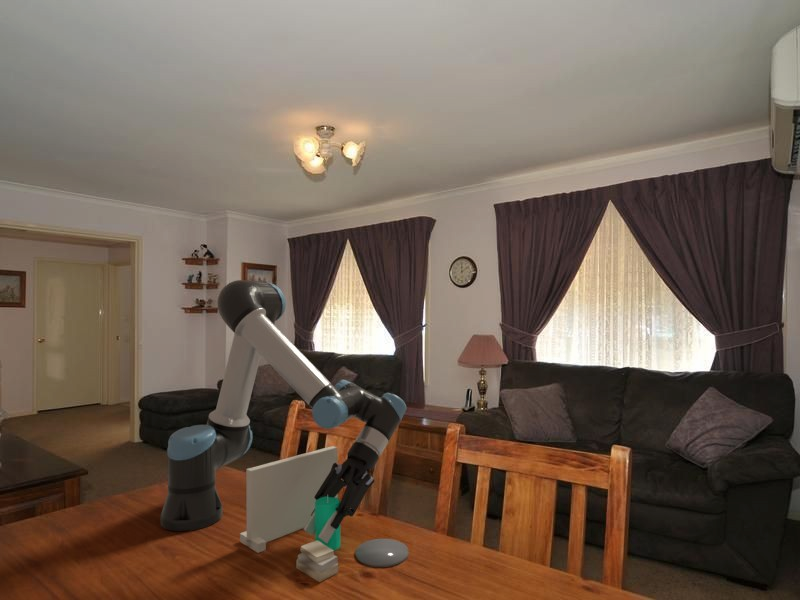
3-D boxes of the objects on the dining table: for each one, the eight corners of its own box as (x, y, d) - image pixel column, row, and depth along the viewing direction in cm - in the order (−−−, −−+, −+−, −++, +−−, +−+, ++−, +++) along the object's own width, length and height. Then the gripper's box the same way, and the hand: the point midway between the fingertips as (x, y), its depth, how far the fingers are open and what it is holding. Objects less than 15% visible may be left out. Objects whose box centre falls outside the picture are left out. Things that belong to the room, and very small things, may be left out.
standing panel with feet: (240, 541, 122) (239, 466, 122) (325, 509, 141) (325, 443, 141) (258, 552, 117) (257, 473, 117) (344, 517, 136) (344, 449, 136)
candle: (336, 553, 116) (335, 500, 116) (311, 550, 118) (310, 498, 118) (344, 540, 122) (343, 490, 122) (320, 538, 123) (320, 489, 123)
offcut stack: (294, 568, 110) (294, 547, 110) (315, 559, 114) (315, 539, 114) (318, 583, 104) (318, 561, 104) (339, 572, 108) (339, 551, 108)
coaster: (344, 554, 116) (344, 551, 116) (382, 536, 125) (382, 533, 125) (381, 573, 108) (381, 570, 108) (419, 552, 116) (419, 550, 116)
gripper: (400, 464, 125) (349, 556, 113) (351, 450, 137) (301, 532, 125) (384, 447, 121) (330, 541, 109) (336, 434, 133) (282, 517, 121)
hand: (315, 536), depth 117 cm, fingers closed on candle, 5 cm apart
